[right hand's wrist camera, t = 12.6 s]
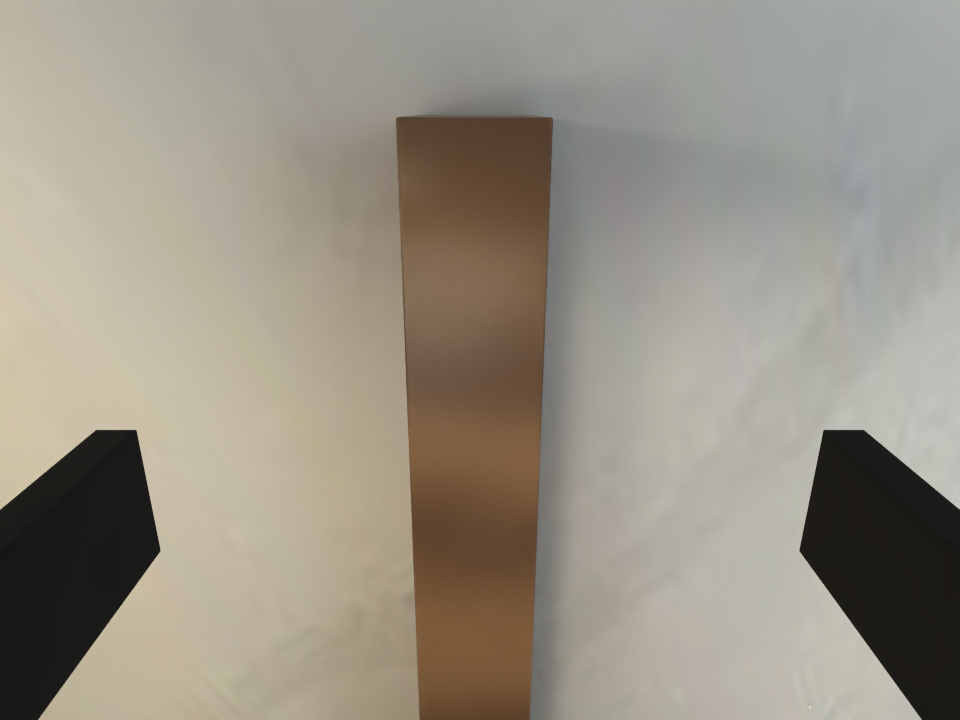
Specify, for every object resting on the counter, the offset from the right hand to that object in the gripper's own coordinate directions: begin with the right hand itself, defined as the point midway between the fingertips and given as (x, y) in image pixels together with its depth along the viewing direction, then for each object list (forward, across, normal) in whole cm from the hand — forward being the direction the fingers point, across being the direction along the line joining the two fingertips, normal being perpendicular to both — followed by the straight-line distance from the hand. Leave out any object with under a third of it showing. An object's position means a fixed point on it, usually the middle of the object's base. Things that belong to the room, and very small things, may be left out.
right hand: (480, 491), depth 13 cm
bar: (+21, 0, -21) cm, 29 cm away
